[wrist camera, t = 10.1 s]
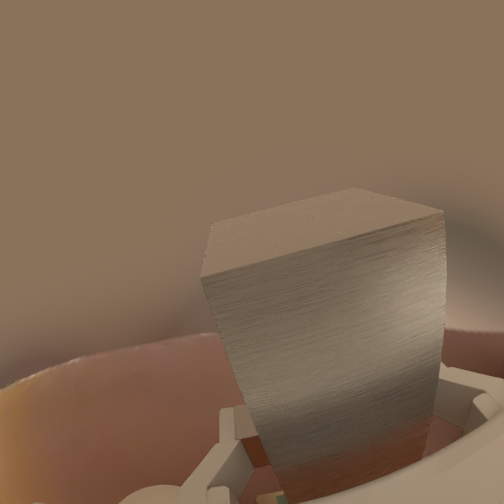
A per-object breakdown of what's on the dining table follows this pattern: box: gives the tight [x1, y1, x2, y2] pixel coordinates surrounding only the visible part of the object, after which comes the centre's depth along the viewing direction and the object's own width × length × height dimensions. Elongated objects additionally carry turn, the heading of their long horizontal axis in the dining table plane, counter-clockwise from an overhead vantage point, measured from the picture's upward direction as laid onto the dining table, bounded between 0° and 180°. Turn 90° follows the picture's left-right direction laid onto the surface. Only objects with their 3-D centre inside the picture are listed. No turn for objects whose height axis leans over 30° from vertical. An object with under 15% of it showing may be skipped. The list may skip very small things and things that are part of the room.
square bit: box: [200, 188, 446, 504], centre depth 9 cm, size 4×4×14 cm
